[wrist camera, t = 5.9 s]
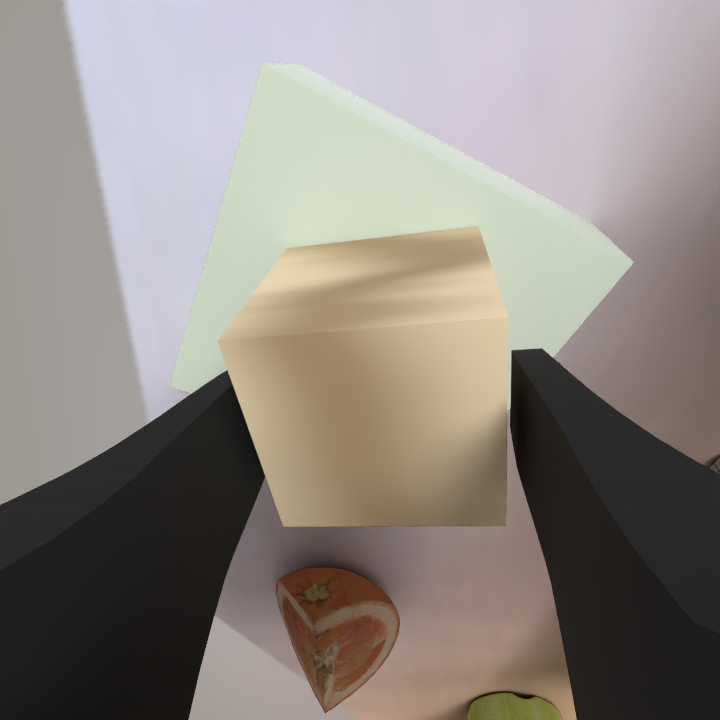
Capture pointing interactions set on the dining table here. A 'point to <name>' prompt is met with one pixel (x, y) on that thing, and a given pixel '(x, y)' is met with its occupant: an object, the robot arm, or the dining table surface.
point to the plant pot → (512, 708)
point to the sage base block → (382, 215)
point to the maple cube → (378, 382)
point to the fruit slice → (337, 628)
